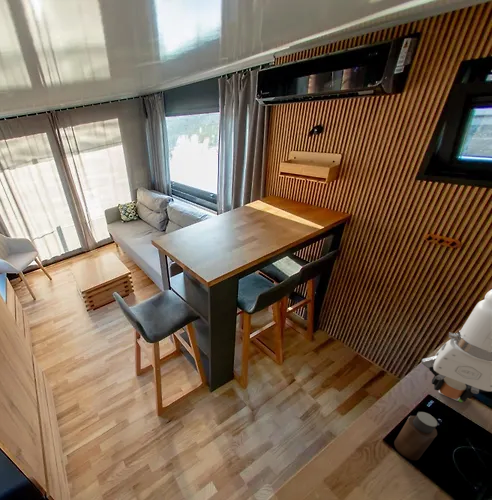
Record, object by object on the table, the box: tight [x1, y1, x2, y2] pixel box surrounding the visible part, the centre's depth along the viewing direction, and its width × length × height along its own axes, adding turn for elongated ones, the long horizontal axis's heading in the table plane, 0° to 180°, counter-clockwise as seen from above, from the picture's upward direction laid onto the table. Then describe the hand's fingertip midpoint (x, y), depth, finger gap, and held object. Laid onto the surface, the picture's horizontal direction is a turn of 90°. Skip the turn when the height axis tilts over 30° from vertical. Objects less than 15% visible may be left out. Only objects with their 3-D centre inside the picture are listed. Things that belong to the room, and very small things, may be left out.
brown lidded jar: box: [393, 415, 438, 461], centre depth 79 cm, size 6×6×14 cm
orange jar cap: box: [438, 377, 466, 400], centre depth 68 cm, size 4×4×4 cm
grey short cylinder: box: [413, 411, 438, 434], centre depth 74 cm, size 4×4×4 cm
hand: (449, 391), depth 69 cm, fingers closed on orange jar cap, 4 cm apart
